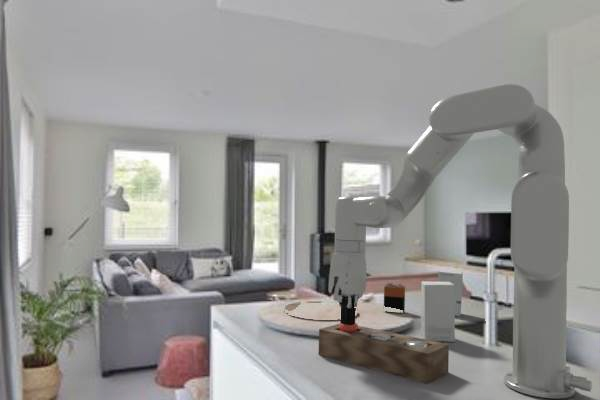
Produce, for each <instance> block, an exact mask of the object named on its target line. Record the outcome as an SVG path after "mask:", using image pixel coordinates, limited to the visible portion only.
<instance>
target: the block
mask: <svg viewBox="0 0 600 400" xmlns="http://www.w3.org/2000/svg"><path fill="white" fill-rule="evenodd" d="M373 333H384V334H388V335H390V336H391V338H390V339H387V340H380V339H376V338H371V334H373ZM407 341H422V342H425V343H427V347H425V348H423V349H421V348H417V347H412V346H407V345H406V344H407ZM449 349H450V344H449V343H445V342H441V341H430V340H425V339H424V338H420V337H415V336H410V335H407V334H399V333H395V332H390V331H386V330H381V329H377V328H373V327H372V328H370V327H366V326H361V325H358V331H356V332H353V333H349V332H344V331H339V323H337V324H334V325H329V326H326V327H321V328H319V329H318V355H320V356H324V357H327V358H330V359H334V360H336V361H337V360H339V361H342V362H345V363H348V364H353V365H357V366H360V367H364V368H367V369H371V370H375V371H379V372H382V373H386V374H389V375H393V376H398V377H401V378H405V379H409V380H410V381H411V380H412V381H414V382H415V381H416V382H420V383H424V384H427V385H428V384H431V383H432V382H434V381H436V380H438V379H439V378H441V377H442V376H445V375H446V374H448V373H449V357H450V355H449V354H450V353H449Z"/></svg>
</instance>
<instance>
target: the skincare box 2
mask: <svg viewBox="0 0 600 400" xmlns="http://www.w3.org/2000/svg"><path fill="white" fill-rule="evenodd" d="M437 275H438V276H437V277H438V278H437V282H451V283H452V284H454V285H455V316H456V317H461V315H462V300H463V299H462V296H463V295H462V294H463V282H464V281H463V276H464V274H463V272H460V271H452V270H438V274H437Z"/></svg>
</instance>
